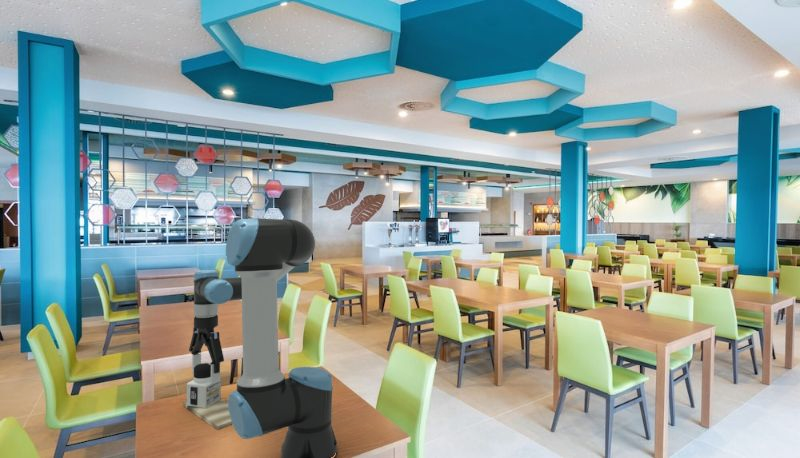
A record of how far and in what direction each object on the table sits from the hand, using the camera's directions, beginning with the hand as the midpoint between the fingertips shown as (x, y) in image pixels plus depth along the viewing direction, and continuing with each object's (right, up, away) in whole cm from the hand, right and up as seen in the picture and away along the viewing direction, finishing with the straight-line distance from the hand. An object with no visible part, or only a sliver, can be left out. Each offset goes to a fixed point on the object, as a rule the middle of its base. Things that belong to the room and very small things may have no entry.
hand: (205, 377), depth 141 cm
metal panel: (+5, -10, -4) cm, 12 cm away
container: (-1, -9, 0) cm, 9 cm away
